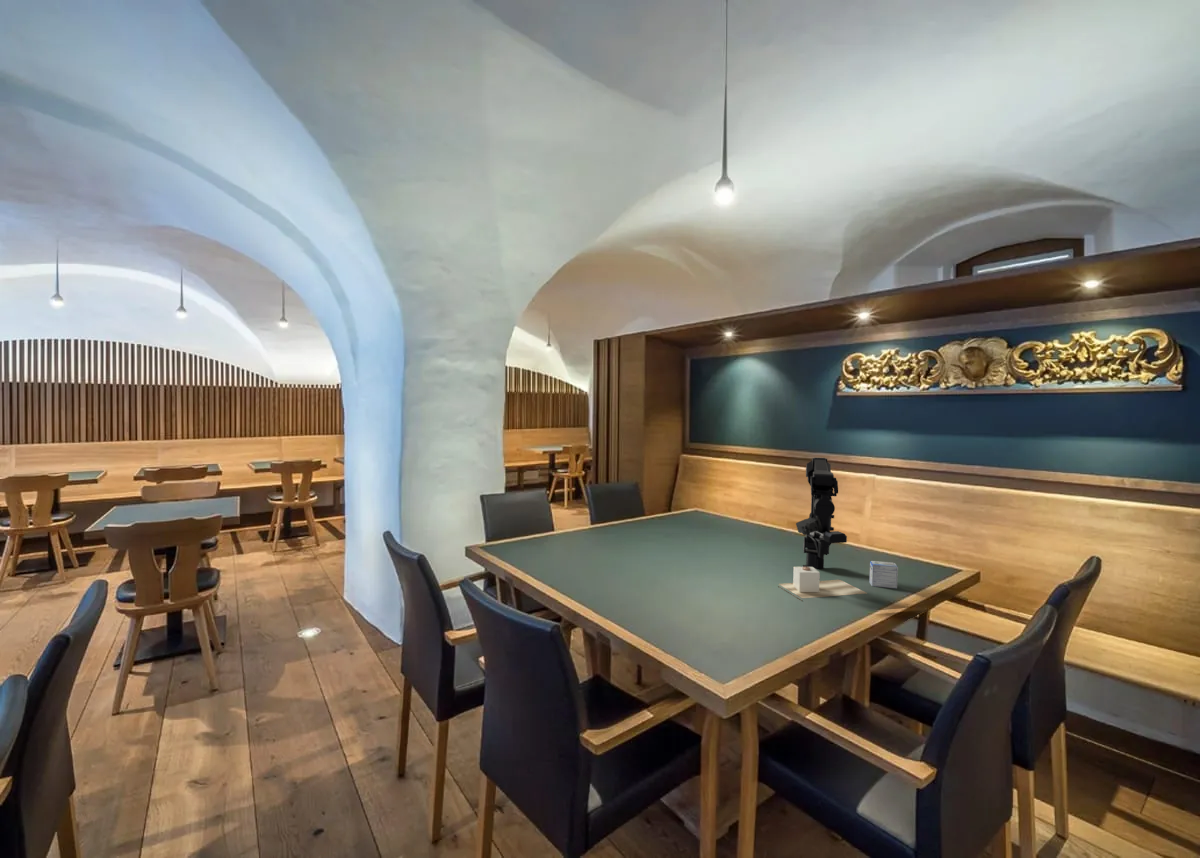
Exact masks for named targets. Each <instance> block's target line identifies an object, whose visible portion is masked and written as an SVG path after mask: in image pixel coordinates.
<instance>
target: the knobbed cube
mask: <svg viewBox="0 0 1200 858" xmlns="http://www.w3.org/2000/svg"><path fill="white" fill-rule="evenodd" d="M792 574H793V575H792V576H793V577H792V578H793V580H792V583H793V586H794V587H795V588H796V589H797V590H798V591H799V592H819V581H821V580H820V577H821V576H820V575H821V573H820V571H819V570H818V569H815V568H814V567H803V566H793V573H792Z"/></svg>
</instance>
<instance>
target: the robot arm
mask: <svg viewBox="0 0 1200 858" xmlns="http://www.w3.org/2000/svg"><path fill="white" fill-rule="evenodd" d="M831 468H832V467H831V464H830V463H829V462H828V458H825V457H812V459H811V461H809V462H807V463H806V466H805V477H806V478H807V482H808V484H809V486H810V495H811V498H810V499H811V500H810V501H811V503H810V513H809V517H808V518H804V519H801V520H800V521H798V522H796V523H795V526H796V529H797V532H798V533H799V534H802V535H803V544H802V546H803V547H802V550H803V554H806V561H805V564H803V565H802V567H814V568H815V569H816V570H824V569H825V567H824V566H825V559H824V558H825V555H826V556H828V555H829V554H830V546H831V545H832V544H842V543H847V542H848V536H847V535H846V534H845V533H844V532H841V531H839V530H835V527H833V526H832V519H835V514H834V513H835V509H836V507H835V504H834V502H833V497H837V494H838V495H839V484H838V480H837V477H835V475H834V473H833V472H832V469H831Z"/></svg>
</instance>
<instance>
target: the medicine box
mask: <svg viewBox="0 0 1200 858" xmlns="http://www.w3.org/2000/svg"><path fill="white" fill-rule="evenodd" d="M898 574H899V566H898V565H897V564H896V563H895V562H892V561H891V562H890V561H881V560H880V561H877V560H870V562H869V580H868V581H869V584H870V585H871V587H876V588H877V587H879V588H890V589H898V577H899V575H898Z"/></svg>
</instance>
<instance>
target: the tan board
mask: <svg viewBox="0 0 1200 858" xmlns="http://www.w3.org/2000/svg"><path fill="white" fill-rule="evenodd" d="M777 587H778V588H779V589H781V590H783V591H784V592H786V593H787V594H789V595H791V596H792V597H794V598H796V599H798V600H799V601H801V602H803V600H802V599H812V598H813V599H814V598H825V597H838V596H839V597H840V596H848V595H850V596H851V595H864V594H865V595H866V594H867V592H866V591H864V590H862V589H859V588H858V587H856V586H853V585H851V584H849V583H847V582H845V581H844V580H841V579H832V580H831V579H829V580H820V581H819V592H799V591H798V590H797V589H796V588H795V587H794V586H793V582H785V583H778V586H777ZM792 593H793V594H792Z"/></svg>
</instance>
